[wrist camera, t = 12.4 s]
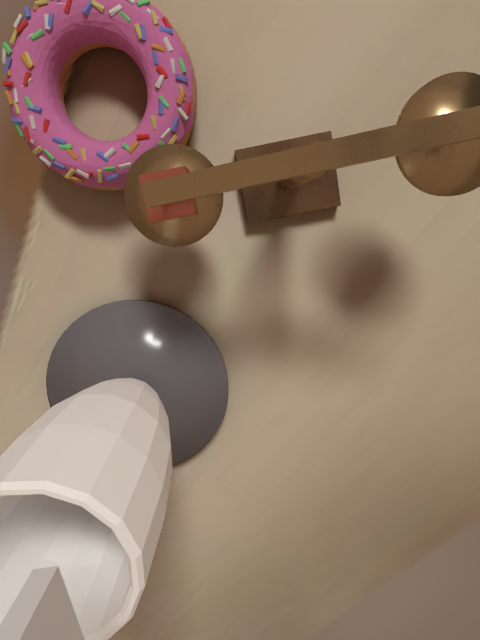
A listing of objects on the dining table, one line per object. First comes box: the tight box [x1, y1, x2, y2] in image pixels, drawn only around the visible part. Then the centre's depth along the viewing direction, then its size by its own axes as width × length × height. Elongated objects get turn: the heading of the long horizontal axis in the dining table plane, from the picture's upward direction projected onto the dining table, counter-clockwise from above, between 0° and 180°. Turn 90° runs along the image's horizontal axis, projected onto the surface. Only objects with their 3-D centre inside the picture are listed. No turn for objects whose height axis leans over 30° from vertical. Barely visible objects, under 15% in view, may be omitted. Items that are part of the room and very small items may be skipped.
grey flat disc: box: [46, 300, 228, 465], centre depth 41 cm, size 17×17×1 cm
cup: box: [0, 378, 173, 640], centre depth 30 cm, size 10×10×22 cm
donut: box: [2, 0, 197, 190], centre depth 33 cm, size 14×14×5 cm
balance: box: [124, 72, 480, 247], centre depth 29 cm, size 25×7×17 cm, turn 101°
